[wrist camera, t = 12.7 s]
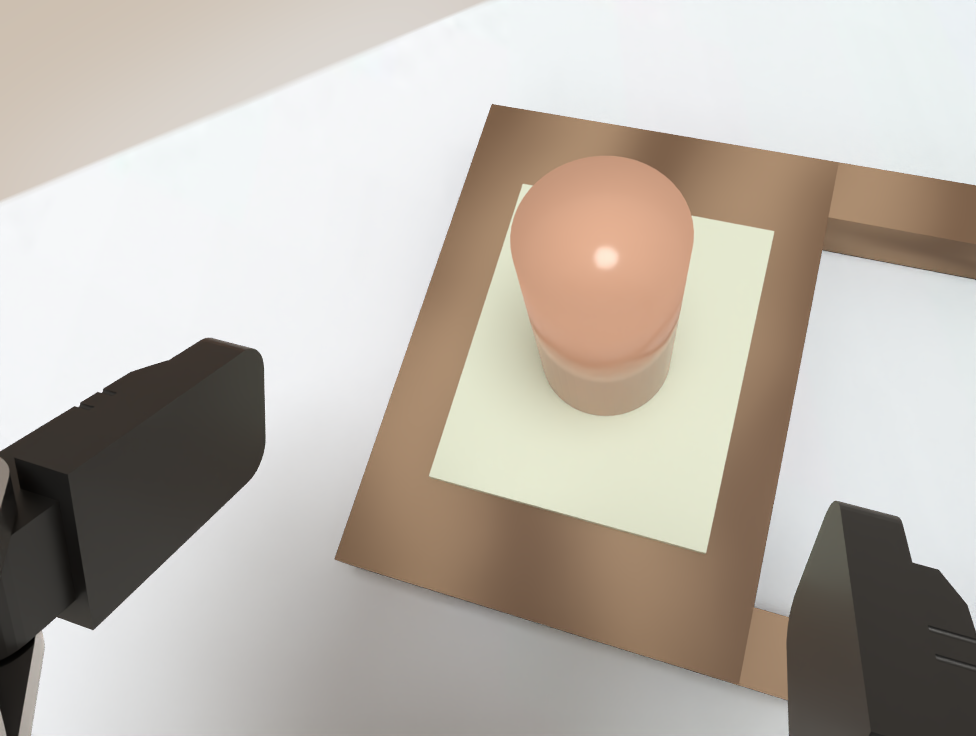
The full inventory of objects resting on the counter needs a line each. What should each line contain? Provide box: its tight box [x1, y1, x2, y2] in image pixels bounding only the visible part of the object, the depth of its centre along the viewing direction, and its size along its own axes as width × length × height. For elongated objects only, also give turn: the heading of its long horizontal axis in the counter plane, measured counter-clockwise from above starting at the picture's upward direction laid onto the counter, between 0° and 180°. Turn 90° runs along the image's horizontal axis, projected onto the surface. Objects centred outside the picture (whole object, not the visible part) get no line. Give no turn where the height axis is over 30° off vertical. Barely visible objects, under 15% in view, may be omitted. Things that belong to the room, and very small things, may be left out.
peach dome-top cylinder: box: [510, 156, 694, 416], centre depth 20 cm, size 4×4×8 cm
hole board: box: [335, 104, 976, 700], centre depth 24 cm, size 24×16×2 cm, turn 73°
